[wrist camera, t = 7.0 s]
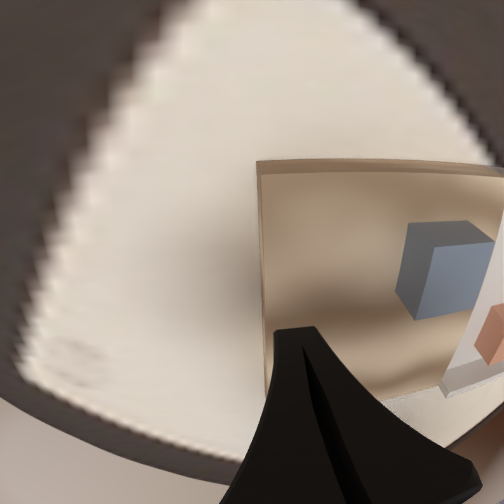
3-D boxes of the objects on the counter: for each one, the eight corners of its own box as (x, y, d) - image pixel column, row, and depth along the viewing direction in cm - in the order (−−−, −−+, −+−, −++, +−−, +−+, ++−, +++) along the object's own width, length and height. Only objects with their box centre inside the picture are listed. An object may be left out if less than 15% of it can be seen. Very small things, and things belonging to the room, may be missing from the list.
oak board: (426, 364, 24) (438, 385, 21) (264, 391, 23) (268, 418, 21) (483, 165, 16) (509, 178, 13) (256, 161, 15) (261, 174, 13)
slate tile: (451, 283, 16) (473, 308, 14) (395, 291, 16) (414, 320, 14) (467, 220, 14) (495, 241, 12) (408, 222, 14) (434, 247, 12)
